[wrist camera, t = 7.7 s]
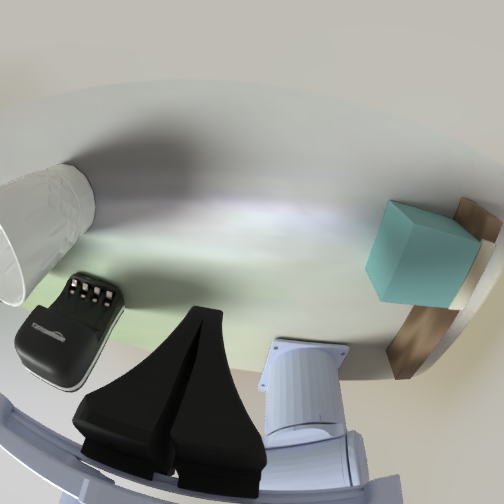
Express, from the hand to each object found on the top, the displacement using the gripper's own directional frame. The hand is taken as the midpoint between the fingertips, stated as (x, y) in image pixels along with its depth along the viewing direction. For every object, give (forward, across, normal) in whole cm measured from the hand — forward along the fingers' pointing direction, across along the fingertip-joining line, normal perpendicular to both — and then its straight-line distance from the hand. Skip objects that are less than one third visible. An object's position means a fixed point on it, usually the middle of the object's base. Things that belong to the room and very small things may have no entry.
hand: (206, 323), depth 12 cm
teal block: (+10, -14, -2) cm, 17 cm away
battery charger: (+10, +13, +8) cm, 18 cm away
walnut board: (+9, -19, +2) cm, 21 cm away
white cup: (+10, +15, -1) cm, 18 cm away
